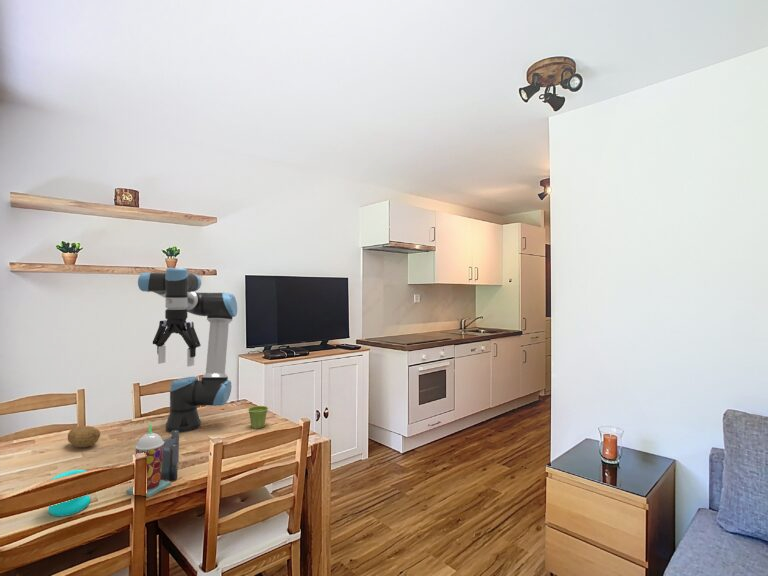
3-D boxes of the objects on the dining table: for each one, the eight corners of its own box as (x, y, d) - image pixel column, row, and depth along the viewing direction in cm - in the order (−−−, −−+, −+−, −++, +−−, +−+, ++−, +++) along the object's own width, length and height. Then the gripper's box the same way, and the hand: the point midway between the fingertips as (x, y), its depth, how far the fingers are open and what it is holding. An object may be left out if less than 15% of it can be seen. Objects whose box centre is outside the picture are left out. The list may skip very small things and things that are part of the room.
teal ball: (78, 465, 129) (98, 472, 125) (78, 497, 129) (97, 505, 125) (41, 478, 120) (61, 486, 116) (40, 512, 120) (60, 521, 116)
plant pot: (264, 430, 192) (264, 411, 192) (244, 429, 192) (244, 411, 192) (270, 423, 201) (270, 406, 201) (251, 423, 202) (251, 405, 202)
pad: (126, 493, 132) (126, 489, 132) (149, 480, 141) (149, 477, 141) (148, 497, 130) (148, 494, 130) (170, 484, 138) (170, 481, 138)
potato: (84, 439, 177) (84, 421, 177) (106, 444, 172) (107, 425, 172) (59, 448, 167) (59, 428, 167) (82, 453, 162) (82, 433, 162)
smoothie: (136, 482, 137) (137, 422, 137) (164, 477, 141) (165, 419, 141) (132, 493, 130) (133, 430, 130) (162, 489, 133) (163, 427, 133)
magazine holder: (144, 475, 144) (145, 441, 144) (174, 460, 157) (175, 429, 157) (173, 481, 141) (173, 446, 141) (201, 465, 154) (202, 433, 154)
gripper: (142, 308, 155) (141, 363, 156) (196, 310, 148) (195, 369, 148) (158, 306, 162) (158, 360, 163) (210, 309, 155) (210, 365, 156)
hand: (176, 364), depth 156 cm, fingers open, 13 cm apart
